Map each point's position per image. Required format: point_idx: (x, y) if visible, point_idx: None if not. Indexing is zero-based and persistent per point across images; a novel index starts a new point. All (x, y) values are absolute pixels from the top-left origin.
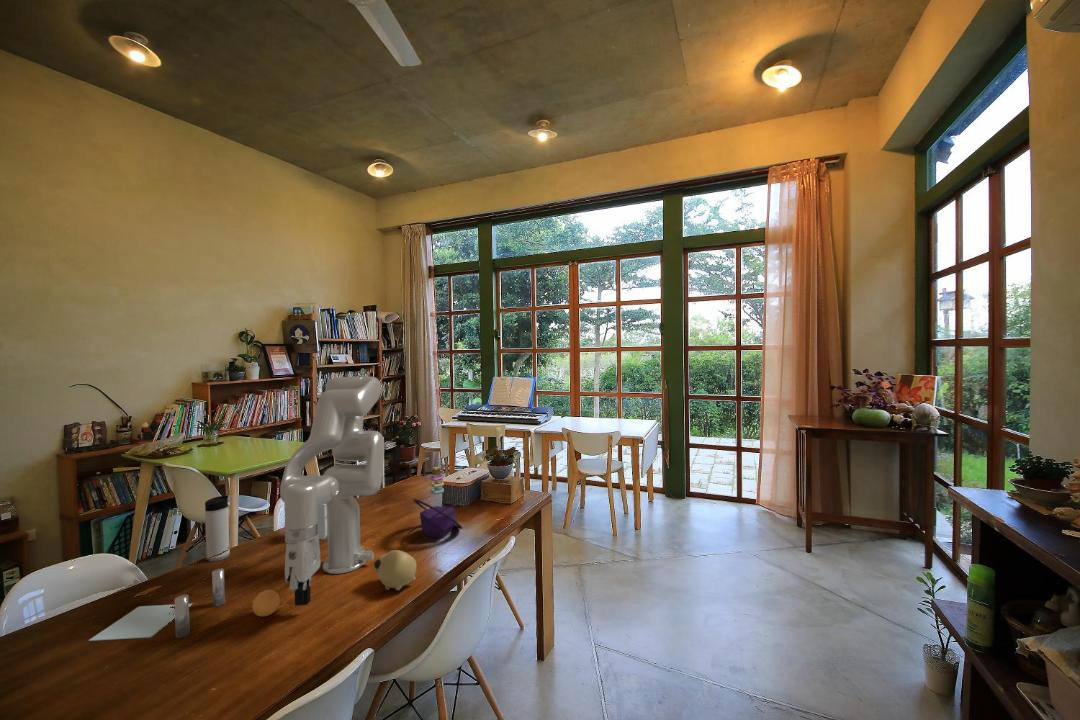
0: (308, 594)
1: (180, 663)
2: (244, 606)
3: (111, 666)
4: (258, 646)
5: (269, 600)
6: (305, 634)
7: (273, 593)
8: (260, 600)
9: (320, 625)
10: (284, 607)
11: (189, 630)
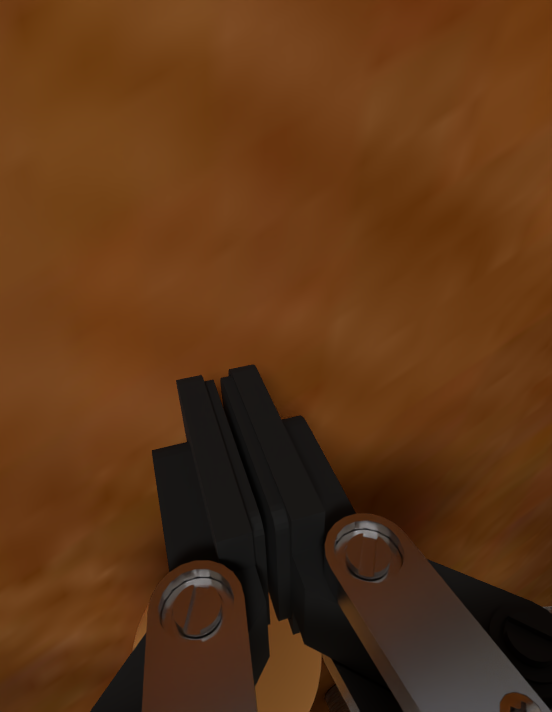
0: (259, 442)
1: (522, 562)
2: None
3: None
4: (526, 383)
5: (297, 654)
6: (507, 139)
7: None
8: (316, 691)
9: (403, 49)
10: (106, 546)
11: (340, 693)
